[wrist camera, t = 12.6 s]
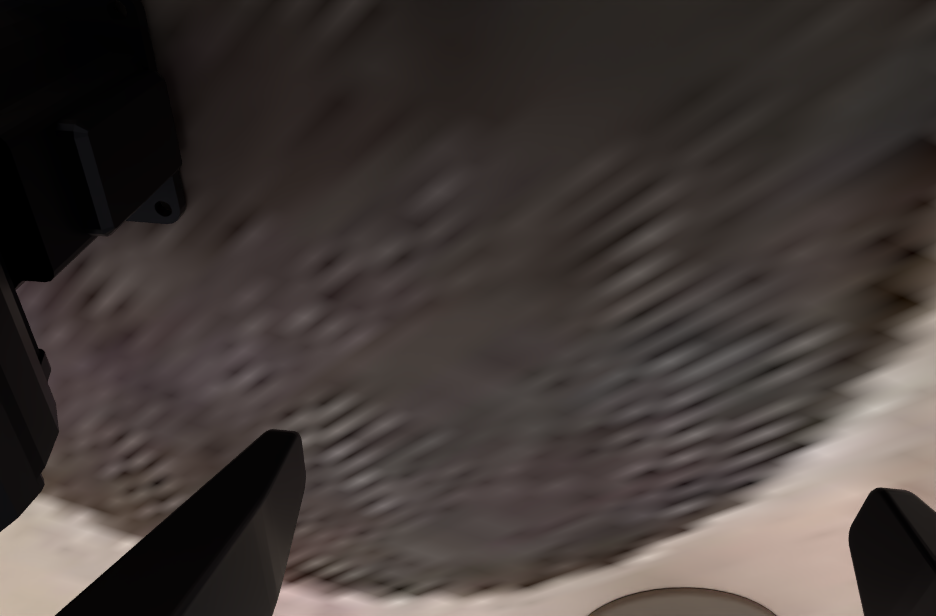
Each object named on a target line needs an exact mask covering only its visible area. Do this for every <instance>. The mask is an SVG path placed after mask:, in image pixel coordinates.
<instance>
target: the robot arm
mask: <svg viewBox="0 0 936 616" xmlns="http://www.w3.org/2000/svg"><path fill="white" fill-rule="evenodd" d="M118 1H120V2H121V3H122V4H123V5H124V6H125V8H126V10H127V17H123V16H121V15H120V14H119V13H118V12H117V10H116V8H115V0H0V532H1V531H2V530H3V529H5V528H6V527H7V526H8V525H10V524H11V523H12V522H13V521H15V520H16V519H17V518H18V517H19V516H20V515H21V514H22V513H23V512H24V511H25V509H26V508H27V507H28V506H29V505H30V504H31V503H32V501H33V500H34V499H35V498H36V497H37V496H38V494H39V493H40V492H41V491H42V489H43V487H44V485H45V484H44V479H43V477H42V474H41V472H42V471H43V469H44V468H45V466H46V464H47V461H48V459H49V456H50V453H51V451H52V448H53V446H54V443H55V441H56V438H57V436H58V433H59V428H58V419H57V410H56V403H55V400H54V398H53V395H52V393H51V390H50V387H49V385H48V378H49V375H50V372H51V367H50V364H49V362H48V359H47V357H46V354H45V351H43V350H42V349H38V346H37V344H36V341H35V339H34V336H33V334H32V331H31V328H30V326H29V323H28V321H27V318H26V316H25V313H24V311H23V308H22V305H21V303H20V300H19V298H18V295H17V293H16V289H18V288H19V287H20V286H21V285H22V284H23V283H24V282H25V281H37V282H48V281H51V280H52V279H53V278H54V277H55V276H57V275H58V274H59V273H60V272H61V271H62V270H63V269H64V268H65V267H66V266H67V265H68V264H69V263H70V262H71V261H72V260H74V259H75V258H76V257H77V256H78V255H79V254H80V253H81V252H82V251H83V250H84V249H85V248H86V247H87V246H88V245H89V244H90V243H92V242H93V241H94V240H95V239H96V238H97V237H98V236H110V235H111V234H112V233H113V232H114V231H115V230H116V229H118V228H119V227H120V226H121V225H122V224H123V223H124V222H125V221H135V222H148V223H161V224H171V223H174V222H176V221H177V220H178V219H179V218H180V217H181V216H182V215H183V213H184V211H185V200H184V195H183V190H182V185H181V181H180V176H179V171H178V169H179V168H180V167H181V165H182V160H181V155H180V150H179V145H178V141H177V136H176V131H175V126H174V121H173V116H172V112H171V107H170V102H169V97H168V92H167V87H166V83H165V80H164V79H163V78H162V76H161V75H160V74H159V73H158V72H157V67H156V63H155V58H154V53H153V49H152V44H151V39H150V34H149V30H148V25H147V20H146V16H145V11H144V7H143V5H142V2H141V0H118ZM161 201H163V202H166V203H167V204H169V205H170V207H171V209H172V211H171V210H167V209H166V208H164V207H163V206H162V204H161ZM305 482H306V471H305V463H304V455H303V447H302V440H301V437H300V435H299V433H298V432H295V431H287V430H277V429H271V430H268V431H266V432H265V433H263V434H262V435H261V436H260V437H259V438H258V439H256V440H255V441H254V442H253V443H252V444H251V445H249V446H248V447H247V448H246V449H245V450H244V451H243V452H241V453H240V454H239V455H238V456H237V457H236V458H235V459H233V460H232V461H231V462H230V463H229V464H228V465H227V466H225V467H224V468H223V469H222V470H221V471H220V472H219V473H217V474H216V475H215V476H214V477H213V478H212V479H211V480H209V481H208V482H207V483H206V484H205V485H204V486H203V487H201V488H200V489H199V490H198V491H197V492H196V493H195V494H193V495H192V496H191V497H190V498H189V499H188V500H187V501H185V502H184V503H183V504H182V505H181V506H180V507H179V508H177V509H176V510H175V511H174V512H173V513H172V514H171V515H169V516H168V517H167V518H166V519H165V520H164V521H163V522H161V523H160V524H159V525H158V526H157V527H156V528H154V529H153V530H152V531H151V532H150V533H149V534H148V535H146V536H145V537H144V538H143V539H142V540H141V541H140V542H138V543H137V544H136V545H135V546H134V547H133V548H132V549H130V550H129V551H128V552H127V553H126V554H125V555H124V556H122V557H121V558H120V559H119V560H118V561H117V562H116V563H114V564H113V565H112V566H111V567H110V568H109V569H108V570H106V571H105V572H104V573H103V574H102V575H101V576H100V577H98V578H97V579H96V580H95V581H94V582H93V583H92V584H90V585H89V586H88V587H87V588H86V589H85V590H84V591H82V592H81V593H80V594H79V595H78V596H77V597H76V598H74V599H73V600H72V601H71V602H70V603H69V604H68V605H66V606H65V607H64V608H63V609H62V610H61V611H59V612H58V613H57V614H56V615H55V616H272V615H273V612H274V609H275V606H276V603H277V600H278V597H279V593H280V589H281V585H282V581H283V577H284V573H285V569H286V565H287V560H288V556H289V552H290V548H291V544H292V540H293V535H294V531H295V527H296V523H297V519H298V515H299V510H300V506H301V502H302V498H303V494H304V489H305ZM849 548H850V552H851V557H852V562H853V566H854V571H855V575H856V580H857V585H858V589H859V594H860V599H861V603H862V608H863V613H864V616H936V512H935V511H934V510H933V509H932V508H930V507H929V506H928V505H927V504H926V503H924V502H923V501H922V500H921V499H920V498H919V497H917V496H916V495H915V494H913V493H912V492H910V491H907V490H900V489H890V488H876V489H874V490H873V491H871V492H870V494H869V495H868V497H867V499H866V500H865V502H864V504H863V506H862V507H861V509H860V511H859V513H858V514H857V516H856V518H855V520H854V521H853V523H852V525H851V527H850V531H849Z"/></svg>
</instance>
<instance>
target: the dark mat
mask: <svg viewBox="0 0 936 616" xmlns="http://www.w3.org/2000/svg"><path fill="white" fill-rule="evenodd" d="M589 616H776V615H774V614H773V613H772V612H771V611H769V610H768V609H766V608H764V607H763V606H761V605H759V604H757V603H755V602H753V601H751V600H748V599H746V598H743V597H740V596H736V595H733V594H729V593H725V592H720V591H714V590H706V589H693V588H672V589H661V590H653V591H647V592H642V593H638V594H634V595H630V596H627V597H624V598H621V599H618V600H615V601H613V602H611V603H609V604H607V605H605V606H603V607H601V608H599V609H598V610H596V611H594V612H593V613H592V614H590V615H589Z"/></svg>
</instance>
